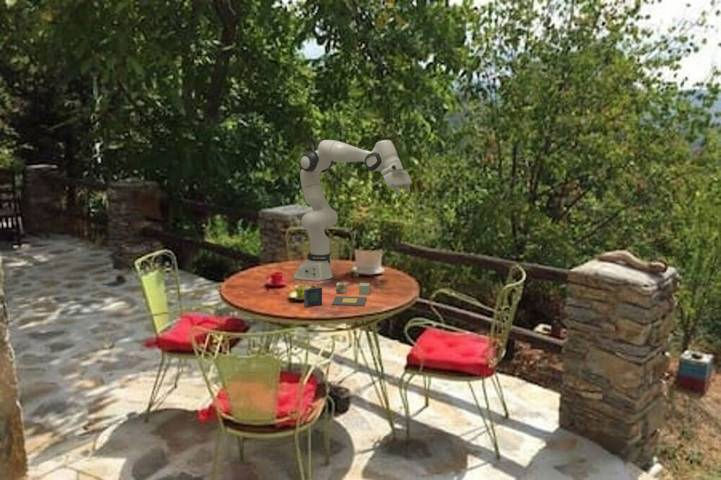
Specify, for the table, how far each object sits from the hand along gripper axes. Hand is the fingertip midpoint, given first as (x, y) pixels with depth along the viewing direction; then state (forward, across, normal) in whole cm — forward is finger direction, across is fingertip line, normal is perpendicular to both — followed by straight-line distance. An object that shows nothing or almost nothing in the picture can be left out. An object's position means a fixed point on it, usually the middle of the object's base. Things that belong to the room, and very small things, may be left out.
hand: (404, 194), depth 295 cm
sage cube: (+39, +9, -39) cm, 56 cm away
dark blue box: (+36, +40, -48) cm, 72 cm away
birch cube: (+34, +15, -48) cm, 61 cm away
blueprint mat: (+40, +25, -37) cm, 60 cm away
